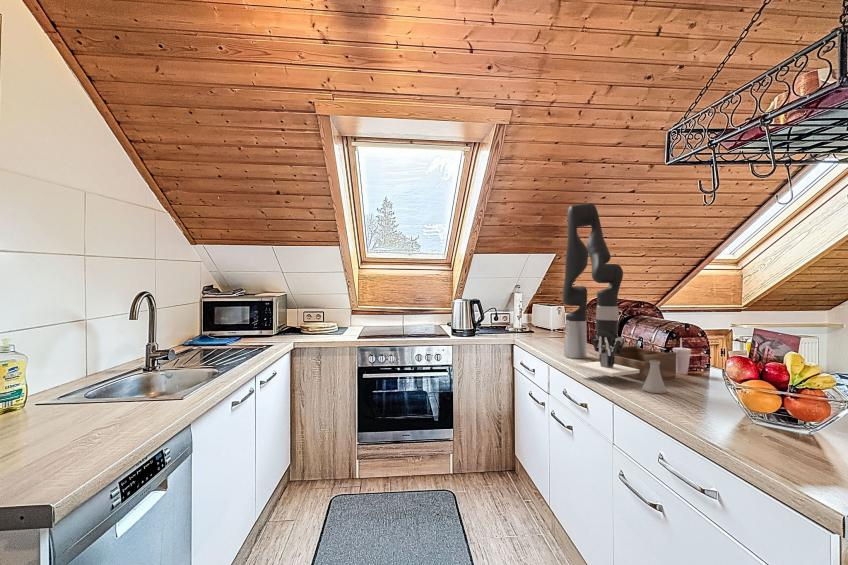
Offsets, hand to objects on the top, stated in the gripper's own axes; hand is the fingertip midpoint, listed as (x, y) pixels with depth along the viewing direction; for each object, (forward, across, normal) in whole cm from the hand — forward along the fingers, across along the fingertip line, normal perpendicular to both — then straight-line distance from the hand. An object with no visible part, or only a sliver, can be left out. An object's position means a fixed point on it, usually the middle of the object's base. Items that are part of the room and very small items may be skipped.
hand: (606, 364), depth 158 cm
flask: (+6, +18, +2) cm, 19 cm away
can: (+6, -17, +23) cm, 29 cm away
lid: (+2, 0, 0) cm, 2 cm away
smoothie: (+6, +5, +34) cm, 35 cm away
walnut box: (+5, 0, +17) cm, 18 cm away
